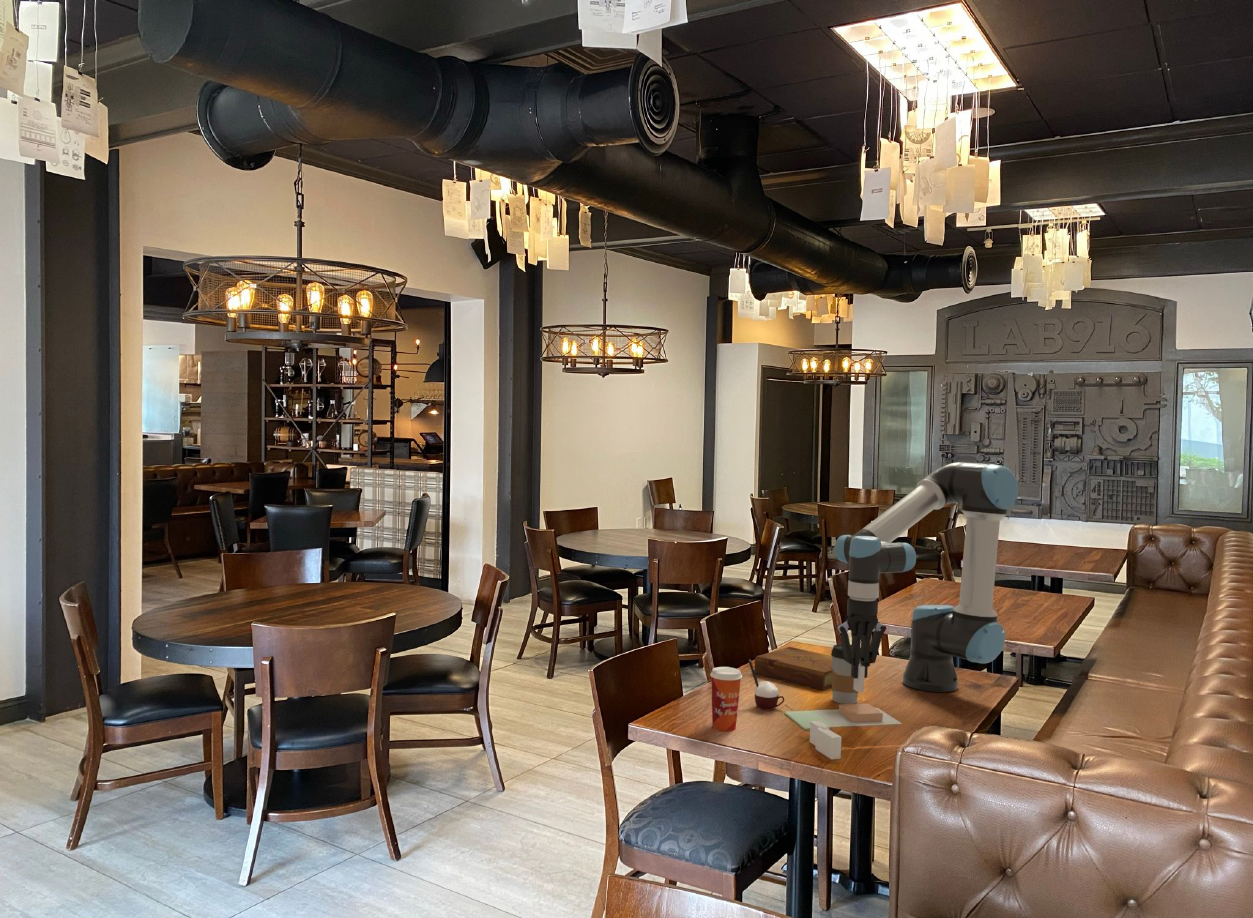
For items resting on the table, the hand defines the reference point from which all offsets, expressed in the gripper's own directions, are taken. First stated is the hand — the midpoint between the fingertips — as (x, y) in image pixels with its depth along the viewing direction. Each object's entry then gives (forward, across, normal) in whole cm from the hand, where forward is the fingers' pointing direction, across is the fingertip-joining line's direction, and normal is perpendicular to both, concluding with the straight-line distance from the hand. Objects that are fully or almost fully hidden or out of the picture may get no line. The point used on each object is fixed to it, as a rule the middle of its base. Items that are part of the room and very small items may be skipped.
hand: (858, 690), depth 243 cm
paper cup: (+8, +36, +2) cm, 37 cm away
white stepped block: (+8, +18, +20) cm, 28 cm away
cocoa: (+8, +20, -12) cm, 25 cm away
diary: (+8, -3, -39) cm, 40 cm away
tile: (+6, -5, 0) cm, 8 cm away
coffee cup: (+8, -3, -13) cm, 15 cm away
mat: (+7, +4, 0) cm, 8 cm away
